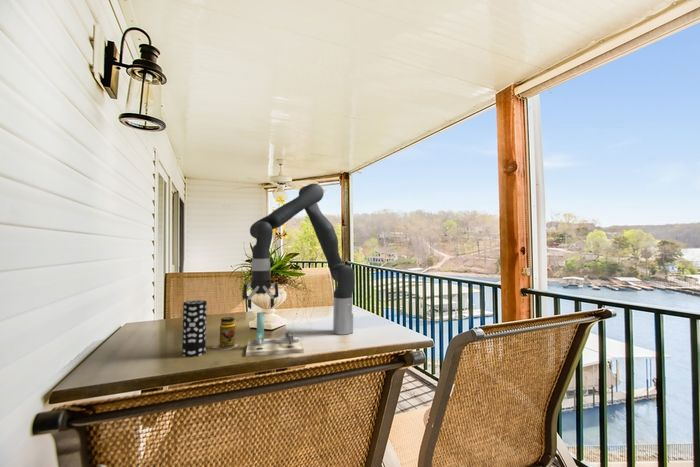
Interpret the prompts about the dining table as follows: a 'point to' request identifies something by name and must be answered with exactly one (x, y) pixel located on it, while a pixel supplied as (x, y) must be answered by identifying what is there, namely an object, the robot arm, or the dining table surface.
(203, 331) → the white-spotted black cylinder
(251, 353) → the grey peg board
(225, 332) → the condiment
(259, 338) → the sliding leg
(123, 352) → the dining table surface
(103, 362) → the dining table surface
